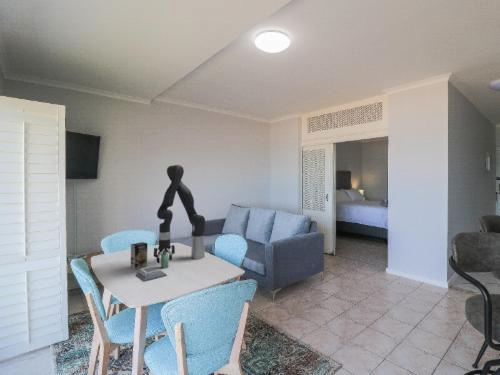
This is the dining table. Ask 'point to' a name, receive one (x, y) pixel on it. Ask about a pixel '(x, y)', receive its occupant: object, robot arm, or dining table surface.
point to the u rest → (150, 273)
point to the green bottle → (164, 260)
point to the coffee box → (138, 255)
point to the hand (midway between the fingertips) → (164, 261)
